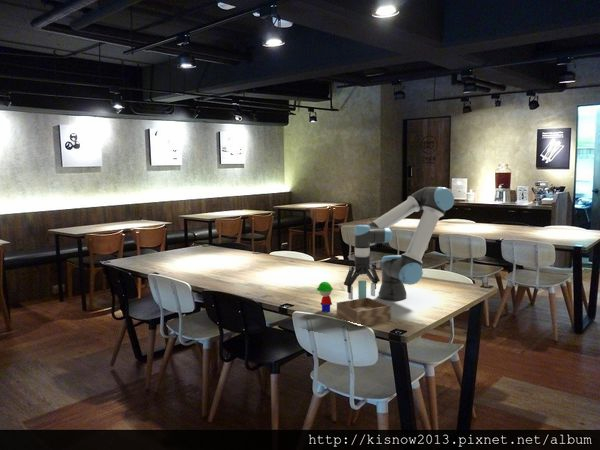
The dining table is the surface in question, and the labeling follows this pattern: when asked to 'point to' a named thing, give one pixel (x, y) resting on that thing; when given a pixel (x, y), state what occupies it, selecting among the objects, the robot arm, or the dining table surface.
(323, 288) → the toy
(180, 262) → the dining table surface
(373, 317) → the caddy
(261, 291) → the dining table surface
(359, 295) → the peg
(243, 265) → the dining table surface
